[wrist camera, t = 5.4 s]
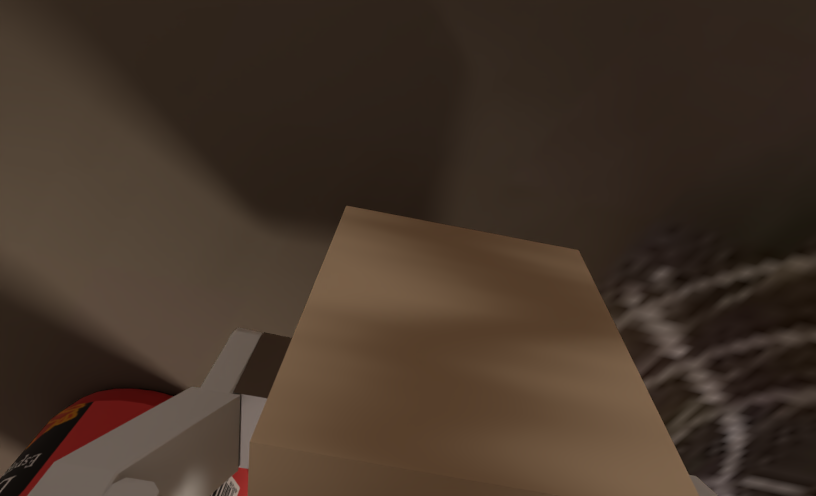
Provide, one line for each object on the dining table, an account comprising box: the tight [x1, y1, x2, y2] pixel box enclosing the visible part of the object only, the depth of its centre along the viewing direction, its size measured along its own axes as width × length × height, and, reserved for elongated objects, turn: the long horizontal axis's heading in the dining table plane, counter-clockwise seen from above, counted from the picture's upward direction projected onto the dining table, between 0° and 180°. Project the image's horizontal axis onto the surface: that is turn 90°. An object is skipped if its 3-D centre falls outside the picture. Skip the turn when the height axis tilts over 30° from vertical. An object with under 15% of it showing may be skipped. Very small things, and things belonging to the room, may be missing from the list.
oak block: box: [248, 206, 699, 496], centre depth 9 cm, size 5×5×6 cm
